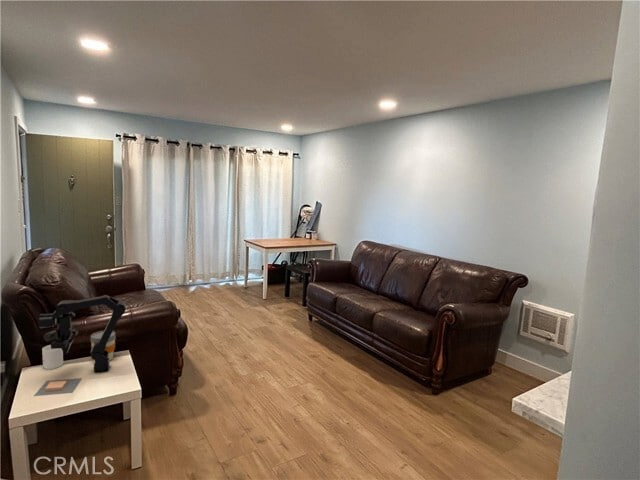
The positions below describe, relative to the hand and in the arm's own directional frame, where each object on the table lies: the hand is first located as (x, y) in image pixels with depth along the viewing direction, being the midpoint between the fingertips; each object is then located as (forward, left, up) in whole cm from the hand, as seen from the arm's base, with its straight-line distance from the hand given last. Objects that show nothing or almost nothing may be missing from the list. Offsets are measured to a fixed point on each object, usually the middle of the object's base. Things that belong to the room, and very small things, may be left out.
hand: (65, 354), depth 190 cm
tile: (0, +10, -10) cm, 14 cm away
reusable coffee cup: (-13, -17, -12) cm, 25 cm away
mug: (+11, -13, -12) cm, 21 cm away
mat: (-1, +12, -12) cm, 17 cm away
